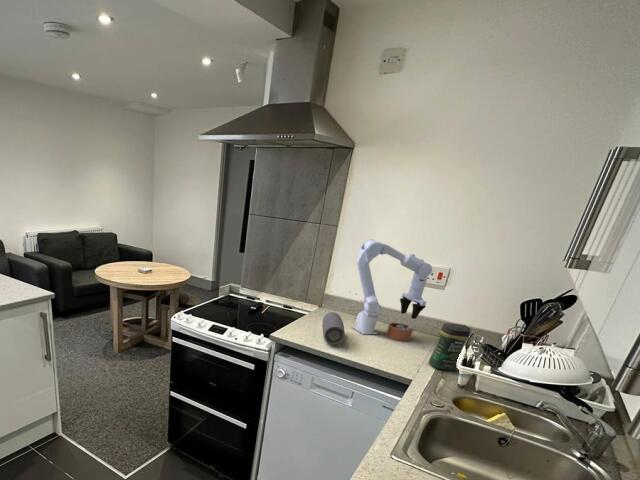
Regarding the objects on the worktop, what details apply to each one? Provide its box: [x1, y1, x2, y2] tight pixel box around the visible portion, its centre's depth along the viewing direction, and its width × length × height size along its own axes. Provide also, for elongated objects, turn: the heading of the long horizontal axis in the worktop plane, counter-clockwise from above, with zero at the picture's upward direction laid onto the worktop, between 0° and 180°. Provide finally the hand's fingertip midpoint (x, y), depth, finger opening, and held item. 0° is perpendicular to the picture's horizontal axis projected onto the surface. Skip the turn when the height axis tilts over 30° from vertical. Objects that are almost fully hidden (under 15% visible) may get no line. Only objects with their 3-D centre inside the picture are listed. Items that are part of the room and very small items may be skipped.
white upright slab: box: [395, 324, 415, 330], centre depth 187 cm, size 7×2×8 cm, turn 35°
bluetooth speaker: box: [321, 311, 346, 345], centre depth 179 cm, size 23×9×10 cm, turn 164°
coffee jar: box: [428, 322, 472, 372], centre depth 156 cm, size 10×8×19 cm
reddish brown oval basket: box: [385, 322, 415, 342], centre depth 190 cm, size 14×11×6 cm
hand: (408, 315), depth 188 cm, fingers open, 7 cm apart
